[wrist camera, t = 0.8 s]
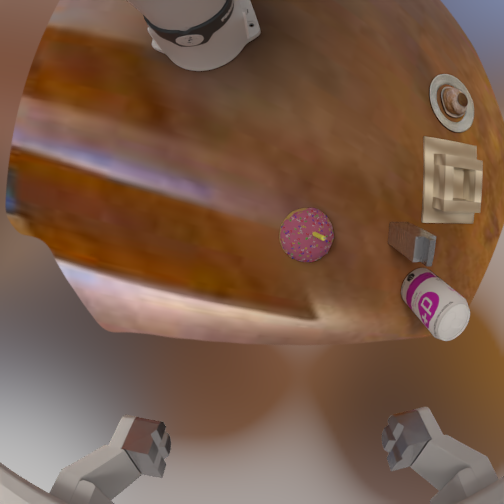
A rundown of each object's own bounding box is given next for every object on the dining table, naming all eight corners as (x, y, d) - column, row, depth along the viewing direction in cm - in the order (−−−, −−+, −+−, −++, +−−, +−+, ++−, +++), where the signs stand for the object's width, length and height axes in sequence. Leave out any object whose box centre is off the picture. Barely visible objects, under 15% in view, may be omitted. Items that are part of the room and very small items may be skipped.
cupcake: (299, 193, 46) (311, 204, 34) (337, 224, 47) (359, 245, 36) (267, 233, 48) (268, 256, 37) (305, 262, 49) (317, 292, 38)
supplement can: (393, 300, 51) (426, 342, 37) (409, 262, 49) (450, 296, 35) (422, 306, 52) (457, 345, 37) (438, 270, 49) (479, 303, 35)
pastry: (469, 85, 37) (482, 81, 32) (471, 138, 41) (485, 138, 36) (425, 67, 37) (437, 62, 33) (427, 124, 41) (441, 123, 36)
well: (423, 136, 41) (436, 135, 37) (474, 146, 41) (488, 146, 36) (421, 221, 46) (433, 227, 42) (471, 222, 46) (484, 228, 41)
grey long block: (389, 221, 47) (422, 240, 35) (408, 221, 46) (442, 240, 35) (387, 243, 48) (418, 266, 36) (406, 242, 48) (439, 265, 36)
